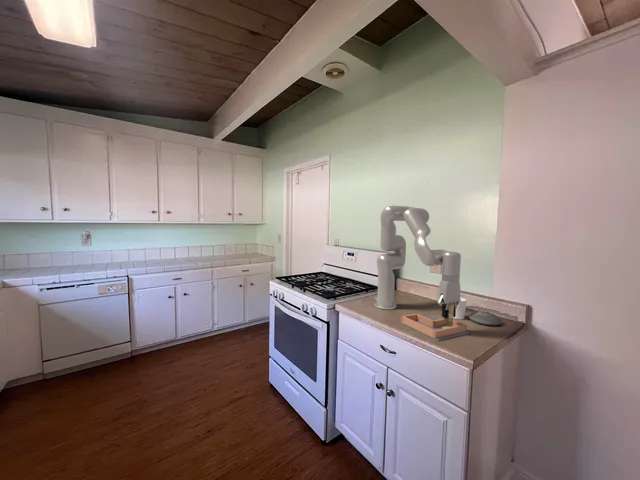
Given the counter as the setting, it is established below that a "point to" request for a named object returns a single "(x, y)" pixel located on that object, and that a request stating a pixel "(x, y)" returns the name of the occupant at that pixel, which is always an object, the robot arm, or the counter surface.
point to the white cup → (460, 309)
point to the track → (434, 327)
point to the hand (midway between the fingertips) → (448, 316)
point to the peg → (449, 316)
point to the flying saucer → (485, 318)
